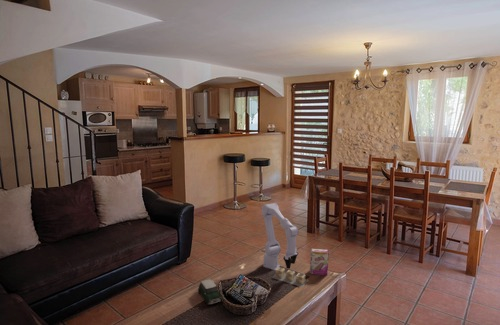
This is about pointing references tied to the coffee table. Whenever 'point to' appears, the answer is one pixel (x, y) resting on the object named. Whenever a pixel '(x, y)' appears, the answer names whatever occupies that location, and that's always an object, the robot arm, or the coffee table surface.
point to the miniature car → (209, 292)
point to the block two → (300, 278)
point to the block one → (280, 272)
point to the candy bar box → (319, 261)
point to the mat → (290, 281)
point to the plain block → (290, 275)
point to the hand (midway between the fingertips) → (290, 265)
